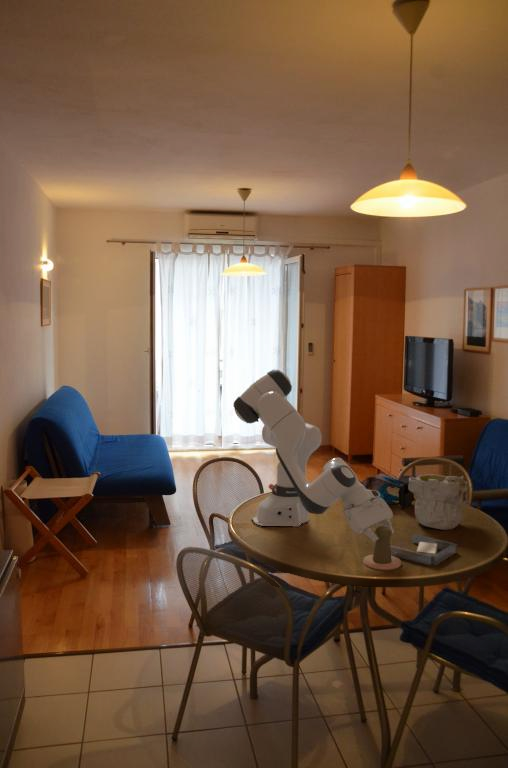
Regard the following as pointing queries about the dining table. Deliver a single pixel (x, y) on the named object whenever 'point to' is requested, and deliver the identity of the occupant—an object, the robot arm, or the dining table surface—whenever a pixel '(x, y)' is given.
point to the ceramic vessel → (439, 500)
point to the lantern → (385, 481)
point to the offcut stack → (427, 548)
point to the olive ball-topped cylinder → (382, 545)
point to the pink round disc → (390, 566)
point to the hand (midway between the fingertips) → (384, 536)
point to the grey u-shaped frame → (446, 552)
